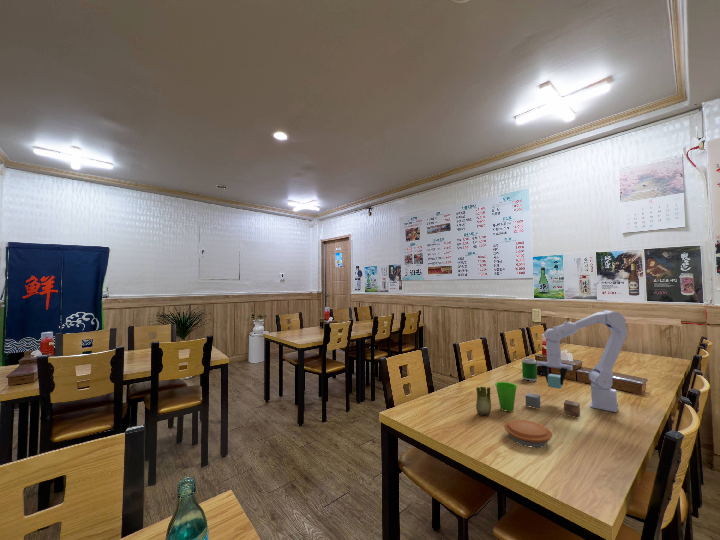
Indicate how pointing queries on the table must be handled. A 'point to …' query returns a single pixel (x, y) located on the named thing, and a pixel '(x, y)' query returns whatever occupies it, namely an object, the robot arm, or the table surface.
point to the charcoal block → (532, 400)
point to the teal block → (554, 381)
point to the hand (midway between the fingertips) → (555, 383)
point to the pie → (528, 433)
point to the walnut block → (571, 408)
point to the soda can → (529, 369)
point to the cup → (506, 395)
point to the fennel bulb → (483, 401)
